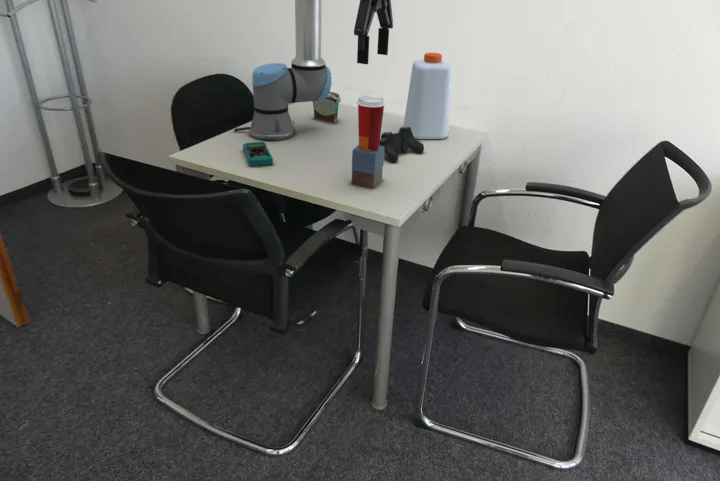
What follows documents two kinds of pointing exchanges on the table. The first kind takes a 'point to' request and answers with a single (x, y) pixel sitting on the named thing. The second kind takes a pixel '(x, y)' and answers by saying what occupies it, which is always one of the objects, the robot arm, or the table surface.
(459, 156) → the table surface
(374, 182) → the walnut block
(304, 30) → the robot arm
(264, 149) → the digital multimeter
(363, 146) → the paper cup
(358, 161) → the slate block
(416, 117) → the plastic bottle
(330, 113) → the food container
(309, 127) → the table surface
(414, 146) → the game controller
